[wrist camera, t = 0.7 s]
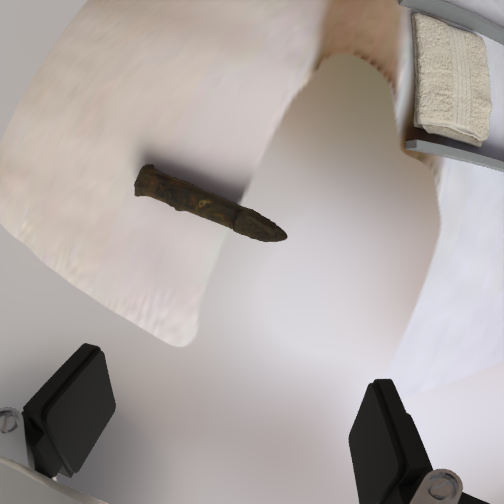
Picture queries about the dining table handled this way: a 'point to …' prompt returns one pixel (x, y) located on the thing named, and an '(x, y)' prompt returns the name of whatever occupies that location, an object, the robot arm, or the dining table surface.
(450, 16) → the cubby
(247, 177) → the dining table surface
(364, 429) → the robot arm
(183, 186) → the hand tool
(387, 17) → the dining table surface
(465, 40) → the washcloth
